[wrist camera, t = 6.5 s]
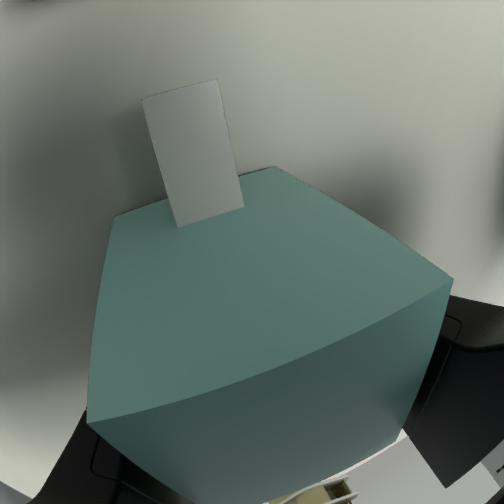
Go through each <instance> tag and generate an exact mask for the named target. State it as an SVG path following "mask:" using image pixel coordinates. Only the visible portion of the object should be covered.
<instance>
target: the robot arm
mask: <svg viewBox="0 0 504 504" xmlns="http://www.w3.org/2000/svg"><path fill="white" fill-rule="evenodd" d="M402 428H403V430H404V431H405V432H406V434H407V435H408V436H409V438H410V440H411V441H412V442H413V444H414V445H415V447H416V448H417V449H418V451H419V452H420V454H421V455H422V456H423V458H424V459H425V461H426V462H427V463H428V465H429V466H430V468H431V469H432V470H433V472H434V473H435V475H436V476H437V478H438V479H439V480H440V482H441V483H442V485H443V486H444V487H445V488H447V487H449V486H450V485H452V484H453V483H454V482H455V481H457V480H458V479H459V478H461V477H462V476H463V475H465V474H466V473H467V472H468V471H469V470H471V469H472V468H473V467H474V466H475V465H477V464H478V463H479V462H480V461H481V462H482V464H483V465H484V466H485V467H486V469H487V470H488V471H489V473H490V474H491V475H492V476H493V478H494V480H495V481H496V482H497V483H498V485H499V486H500V487H501V489H500V490H499V491H498V492H497V493H496V494H495V495H494V496H493V497H492V498H491V499H490V500H489V501H488V502H487V503H486V504H504V307H502V306H497V305H492V304H488V303H483V302H478V301H474V300H469V299H465V298H460V297H456V296H452V295H450V296H449V300H448V304H447V308H446V311H445V315H444V318H443V322H442V325H441V329H440V332H439V335H438V338H437V341H436V345H435V348H434V351H433V353H432V356H431V359H430V362H429V365H428V368H427V370H426V373H425V376H424V378H423V381H422V383H421V386H420V388H419V391H418V393H417V396H416V398H415V400H414V403H413V405H412V407H411V410H410V412H409V414H408V416H407V418H406V421H405V423H404V425H403V427H402ZM27 504H195V503H193V502H192V501H190V500H188V499H187V498H185V497H183V496H182V495H180V494H178V493H177V492H175V491H174V490H172V489H171V488H169V487H167V486H166V485H164V484H163V483H161V482H160V481H158V480H157V479H155V478H154V477H153V476H151V475H150V474H148V473H147V472H146V471H144V470H143V469H141V468H140V467H139V466H137V465H136V464H135V463H133V462H132V461H131V460H129V459H128V458H127V457H126V456H124V455H123V454H122V453H120V452H119V451H118V450H117V449H116V448H114V447H113V446H112V445H111V444H109V443H108V442H107V441H106V440H105V439H104V438H102V437H101V436H100V435H99V434H98V433H97V432H96V431H94V430H93V429H92V428H91V427H90V426H89V425H88V424H87V407H86V410H85V411H84V413H83V415H82V417H81V419H80V421H79V423H78V425H77V427H76V429H75V431H74V433H73V435H72V437H71V438H70V440H69V442H68V444H67V445H66V447H65V449H64V451H63V452H62V454H61V456H60V458H59V459H58V461H57V463H56V464H55V466H54V468H53V470H52V471H51V473H50V475H49V477H48V478H47V480H46V482H45V484H44V485H43V487H42V489H41V490H40V492H39V493H38V494H37V495H36V497H34V498H33V499H32V500H31V501H30V502H28V503H27Z"/></svg>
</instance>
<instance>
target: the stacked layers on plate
mask: <svg viewBox="0 0 504 504" xmlns="http://www.w3.org/2000/svg"><path fill="white" fill-rule="evenodd" d="M347 480H348V475H343V476H340V477H337V478H333V479H330V480H326V481H323V482H321V481H319V482H317V483H315V484H313V485H310V486H308V487H306V488H303V489H301V490H298V491H296V492H293V493H291V494H288V495H285V496H283V497H280V498H277V499H274V500H271V501H268V503H269V504H348V502H350V503H349V504H352V503H351V500H353V499H355V498H356V497H357V495H358V492H354V493H352V491H351V489H350V487H349V486H348V484H347Z"/></svg>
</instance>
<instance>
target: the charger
mask: <svg viewBox="0 0 504 504" xmlns="http://www.w3.org/2000/svg"><path fill="white" fill-rule="evenodd" d="M141 102H142V106H143V110H144V114H145V118H146V122H147V125H148V129H149V133H150V137H151V140H152V144H153V147H154V151H155V154H156V158H157V161H158V165H159V168H160V172H161V175H162V179H163V182H164V185H165V189H166V192H167V195H168V198H167V199H164V200H161V201H158V202H155V203H152V204H149V205H146V206H143V207H140V208H138V209H135V210H132V211H129V212H126V213H123V214H121V215H118V216H115V218H114V222H113V226H112V230H111V234H110V239H109V243H108V248H107V252H106V257H105V262H104V267H103V272H102V277H101V283H100V289H99V295H98V301H97V307H96V314H95V321H94V329H93V337H92V345H91V355H90V366H89V379H88V396H87V424H88V425H89V426H90V427H91V428H92V429H93V430H94V431H96V432H97V433H98V434H99V435H100V436H101V437H102V438H104V439H105V440H106V441H107V442H108V443H109V444H111V445H112V446H113V447H114V448H116V449H117V450H118V451H119V452H120V453H122V454H123V455H124V456H126V457H127V458H128V459H129V460H131V461H132V462H133V463H135V464H136V465H137V466H139V467H140V468H141V469H143V470H144V471H146V472H147V473H148V474H150V475H151V476H153V477H154V478H155V479H157V480H158V481H160V482H161V483H163V484H164V485H166V486H167V487H169V488H171V489H172V490H174V491H175V492H177V493H178V494H180V495H182V496H183V497H185V498H187V499H188V500H190V501H192V502H193V503H195V504H262V503H265V502H268V501H271V500H274V499H277V498H280V497H283V496H285V495H288V494H291V493H293V492H296V491H298V490H301V489H303V488H306V487H308V486H310V485H313V484H315V483H317V482H319V481H322V480H324V479H326V478H328V477H330V476H333V475H335V474H337V473H339V472H341V471H343V470H345V469H347V468H349V467H351V466H353V465H355V464H357V463H358V462H360V461H362V460H364V459H366V458H368V457H370V456H371V455H373V454H375V453H377V452H378V451H380V450H382V449H383V448H385V447H387V446H388V445H390V444H392V443H393V442H395V441H396V439H397V437H398V435H399V433H400V431H401V429H402V427H403V425H404V423H405V421H406V418H407V416H408V414H409V412H410V410H411V407H412V405H413V403H414V400H415V398H416V396H417V393H418V391H419V388H420V386H421V383H422V381H423V378H424V376H425V373H426V370H427V368H428V365H429V362H430V359H431V356H432V353H433V351H434V348H435V345H436V341H437V338H438V335H439V332H440V329H441V325H442V322H443V318H444V315H445V311H446V308H447V304H448V300H449V296H450V292H451V288H452V283H453V278H452V277H451V276H449V275H448V274H446V273H445V272H444V271H442V270H441V269H440V268H438V267H437V266H435V265H434V264H433V263H431V262H430V261H428V260H427V259H425V258H424V257H423V256H421V255H420V254H418V253H417V252H415V251H414V250H412V249H411V248H410V247H408V246H407V245H405V244H404V243H402V242H401V241H399V240H398V239H396V238H395V237H393V236H392V235H390V234H389V233H387V232H385V231H384V230H382V229H381V228H379V227H378V226H376V225H375V224H373V223H371V222H370V221H368V220H367V219H365V218H364V217H362V216H360V215H359V214H357V213H355V212H354V211H352V210H351V209H349V208H347V207H346V206H344V205H342V204H341V203H339V202H337V201H336V200H334V199H332V198H331V197H329V196H327V195H326V194H324V193H322V192H320V191H319V190H317V189H315V188H313V187H312V186H310V185H308V184H306V183H305V182H303V181H301V180H299V179H298V178H296V177H294V176H292V175H290V174H289V173H287V172H285V171H283V170H281V169H279V168H278V167H272V168H268V169H264V170H261V171H257V172H253V173H250V174H246V175H242V176H239V177H238V173H237V169H236V164H235V160H234V155H233V150H232V146H231V141H230V137H229V132H228V127H227V123H226V118H225V114H224V109H223V105H222V100H221V95H220V91H219V86H218V82H217V79H216V80H211V81H206V82H202V83H198V84H194V85H189V86H185V87H182V88H178V89H174V90H170V91H167V92H163V93H160V94H156V95H153V96H150V97H146V98H143V99H141Z"/></svg>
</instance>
